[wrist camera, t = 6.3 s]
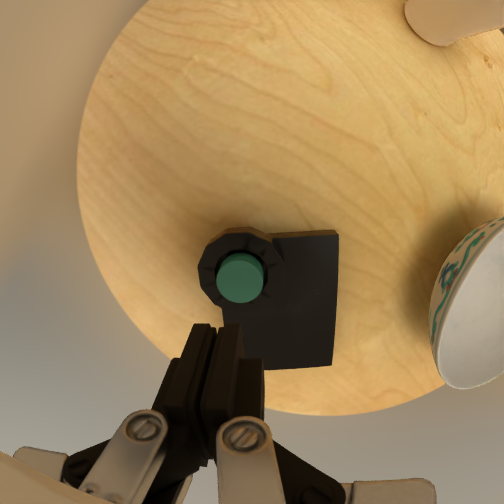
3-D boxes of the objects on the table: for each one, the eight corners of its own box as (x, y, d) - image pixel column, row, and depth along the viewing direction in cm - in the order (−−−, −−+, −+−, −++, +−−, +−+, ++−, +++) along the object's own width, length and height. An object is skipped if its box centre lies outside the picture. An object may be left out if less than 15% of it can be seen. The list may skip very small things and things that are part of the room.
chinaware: (496, 323, 23) (531, 359, 16) (391, 355, 25) (419, 410, 17) (515, 194, 19) (567, 211, 11) (399, 202, 20) (454, 226, 13)
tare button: (222, 293, 20) (219, 303, 19) (217, 253, 20) (213, 261, 18) (264, 291, 20) (264, 302, 19) (261, 251, 19) (261, 259, 18)
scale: (223, 361, 26) (218, 382, 23) (202, 225, 22) (192, 236, 19) (329, 356, 25) (334, 377, 22) (334, 217, 21) (344, 226, 18)
